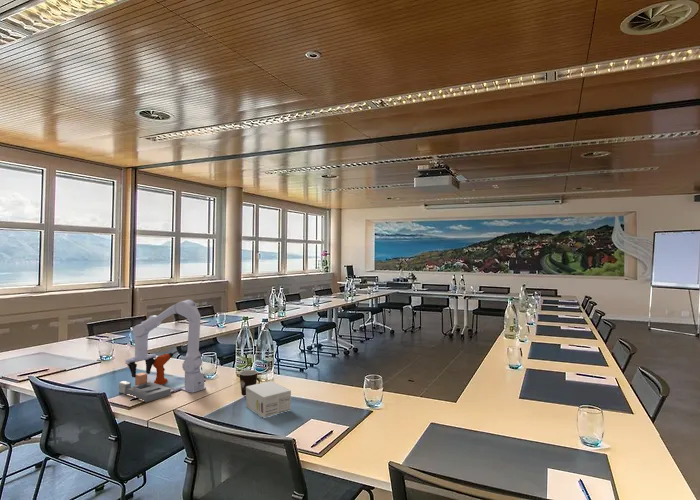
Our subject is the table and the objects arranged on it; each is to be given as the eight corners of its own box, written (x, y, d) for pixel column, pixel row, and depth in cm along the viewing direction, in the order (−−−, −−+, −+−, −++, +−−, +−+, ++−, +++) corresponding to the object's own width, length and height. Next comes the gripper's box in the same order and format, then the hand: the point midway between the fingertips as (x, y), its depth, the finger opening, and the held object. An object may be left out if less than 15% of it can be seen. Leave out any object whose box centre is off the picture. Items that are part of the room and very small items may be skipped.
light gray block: (130, 393, 198) (130, 382, 198) (125, 394, 196) (125, 384, 196) (124, 390, 202) (124, 380, 202) (119, 392, 199) (119, 382, 199)
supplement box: (245, 407, 181) (245, 386, 181) (271, 400, 189) (271, 380, 189) (263, 419, 168) (263, 396, 168) (291, 411, 176) (291, 389, 176)
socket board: (170, 394, 196) (170, 388, 196) (146, 402, 186) (146, 395, 186) (150, 387, 206) (150, 381, 206) (125, 394, 196) (125, 388, 196)
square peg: (147, 387, 206) (147, 373, 206) (139, 390, 203) (139, 375, 203) (143, 386, 208) (143, 372, 208) (135, 388, 205) (135, 374, 205)
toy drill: (183, 372, 227) (180, 346, 225) (159, 387, 209) (157, 359, 207) (175, 371, 228) (173, 345, 226) (151, 386, 210) (149, 358, 208)
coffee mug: (237, 392, 200) (237, 371, 200) (255, 389, 204) (255, 369, 204) (242, 399, 190) (242, 378, 190) (261, 396, 194) (261, 375, 194)
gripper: (151, 344, 214) (150, 370, 214) (122, 349, 202) (122, 377, 202) (158, 346, 210) (158, 372, 210) (129, 351, 198) (129, 380, 198)
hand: (141, 375), depth 205 cm, fingers open, 7 cm apart
